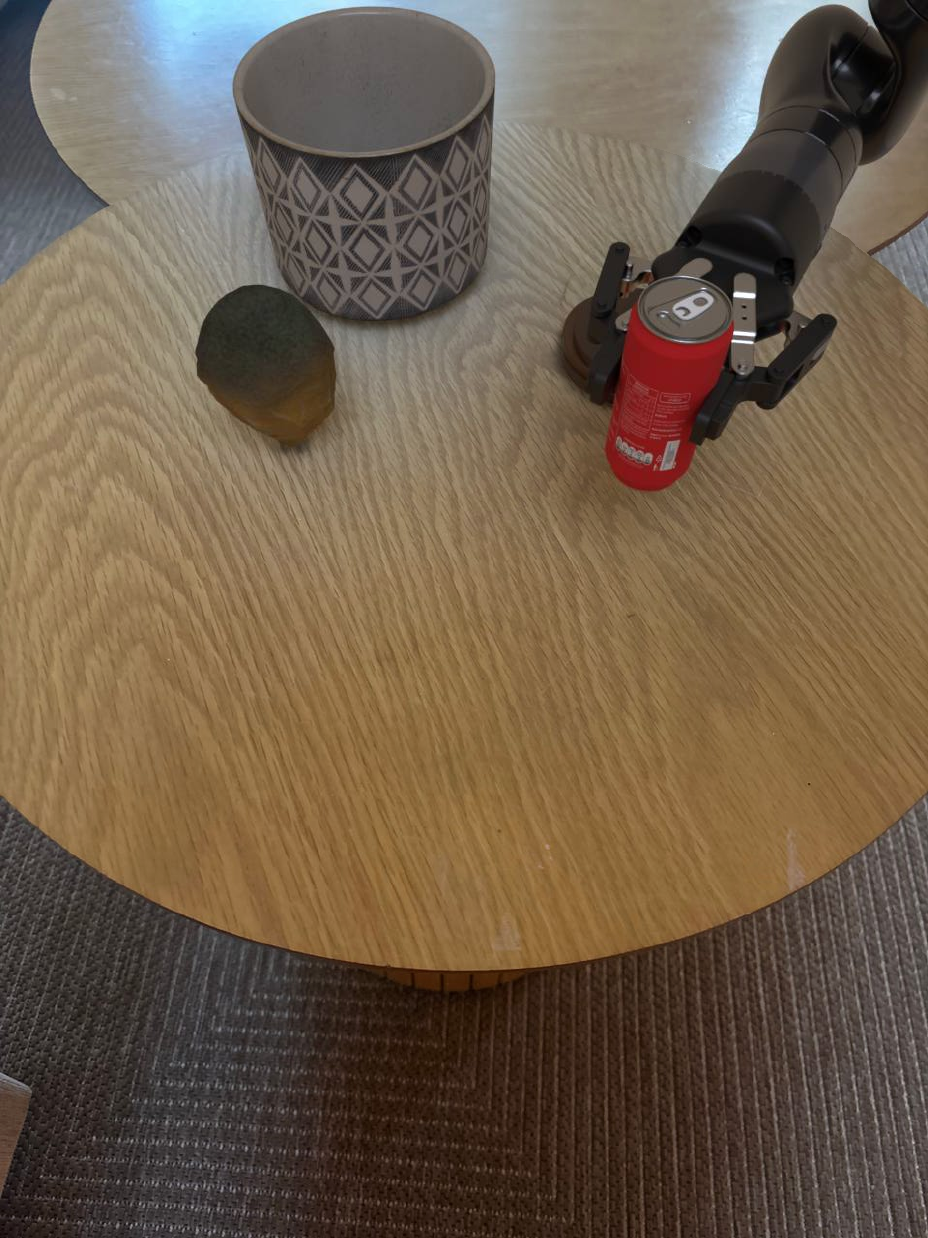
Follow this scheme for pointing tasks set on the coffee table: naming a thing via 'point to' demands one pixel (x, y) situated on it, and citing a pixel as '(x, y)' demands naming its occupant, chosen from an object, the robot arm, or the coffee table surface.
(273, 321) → the decorative stone
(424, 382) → the coffee table surface
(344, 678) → the coffee table surface
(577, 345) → the disc pile
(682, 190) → the coffee table surface
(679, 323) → the beverage can
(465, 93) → the planter
